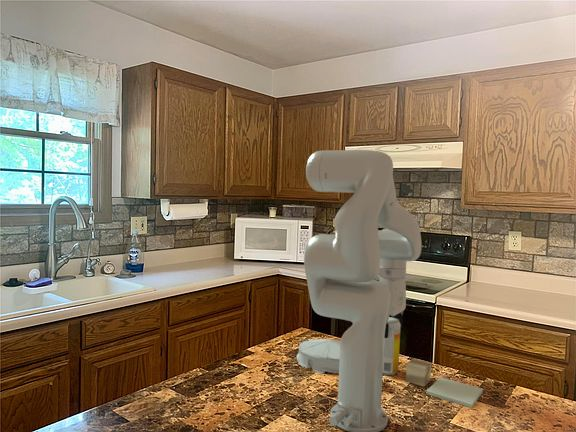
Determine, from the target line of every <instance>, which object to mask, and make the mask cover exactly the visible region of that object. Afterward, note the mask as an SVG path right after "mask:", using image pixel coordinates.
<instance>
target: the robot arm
mask: <svg viewBox="0 0 576 432" xmlns="http://www.w3.org/2000/svg"><path fill="white" fill-rule="evenodd" d="M393 173H394V163H393V159H392V157H391V156H390V155H389V154H387V153H386V152H383V151H379V150H373V149H345V150H342V149H340V150H339V149H338V150H335V149H334V150H331V149H330V150H325V149H324V150H317V151H314V152H313V153H312V154H311V155H310V156H309V158H308V159H307V163H306V166H305V177H306V180H307V183H308V185H309V186H310V188H311V189H312V190H314V191H315V192H319V193H321V192H323V193H348V194H350V193H351V194H352V193H353V195H352V196H351V197H350V198H349V199H348V200H347V201H346V202H345V203H344V204H343V205H342V206H341V208H339V210H338V212H337V213H336V215H335V217H334V222H333V223H334V224H333V225H334V233H335V234H330V233H329V234H328V233H327V234H325V233H323V234H322V233H321V234H316V235H314V236H312V237H311V238H309V240H308V242H307V244H306V246H305V249H304V254H303V255H304V257H303V264H304V266H303V267H304V272H305V277H306V283H307V289H308V293H309V300H310V304H311V307H312V308H311V309H313V311H314V313H316V314H317V315H319V316H322V317H326V318H331V319H332V318H333V319H336V320H337V319H339V320H344V321H348V322H351V323H352V325H351V326H350V327H348V328H347V330H345V331H344V333H343V334H342V336H341V338H340V340H339V341H340V361H339V373H338V386H337V387H338V389H337V403H336V404H334V405H333V406H332V407H331V409H330V411H329V412H330V413H329V414H330V415H329V416H330V417H329V418H328V422H329V425H331V426H332V427H336V426H337V427H338V428H341V429H342V430H343V431H347V432H381V431H383V430H384V429H385V428H386V427H387V425H388V421H389V419H388V415H387V413H386V412H385V411H384V410H383V409H382V393H383V390H382V389H383V375H384V374H383V354H384V338H388V328H389V324H388V323H387V322H388V319H389V317H390V316H391V317H392V318H396V319H398V320H399V322H400V325H401V326H400V330H401V329H403V314H404V311H405V309H406V307H407V289H406V288H407V284H406V279H407V278H406V276H407V262H414V261H416V260H417V259H419V258H420V256H421V254H422V235H421V228H420V225H419V222H418V220H417V219H416V217H415V216H414V215H413V214H412V213H411V212H410V211H409V210H407V208H405V207H403V205H402V204H400V203H399V202H398V198H397V194H396V193H397V192H396V187H395V181H394V175H393ZM379 227H381V228H383V229H380V230H379ZM376 278H379V280H376Z"/></svg>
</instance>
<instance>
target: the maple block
mask: <svg viewBox="0 0 576 432" xmlns="http://www.w3.org/2000/svg"><path fill="white" fill-rule="evenodd" d="M431 373H432V362H429V361H427V360H426V361H425V360H422V359H418V358H415V357H413V358H412V359H411V360H409V361H408V362H407V363H406V370H405V382H408V383H411V384H415V385H416V386H417V385H418V386H421V387H425V386H426V385H428V383H429V382H430V381H431V376H432V375H431Z"/></svg>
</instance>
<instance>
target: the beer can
mask: <svg viewBox="0 0 576 432" xmlns="http://www.w3.org/2000/svg"><path fill="white" fill-rule="evenodd" d="M387 323H388V324H389V328H388V338H384V354H383V374H382V375H386V376H394V375H396V374H397V373H398V372H399V367H400V366H399V363H400V362H399V361H400V347H401V346H400V344H401V329H400V326H401V325H400V322H399V320H398V319H396V318H392V317H390V316H389V319H388V322H387Z"/></svg>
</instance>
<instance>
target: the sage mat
mask: <svg viewBox="0 0 576 432" xmlns="http://www.w3.org/2000/svg"><path fill="white" fill-rule="evenodd" d="M483 392H484V388H482V387H478V386H474V385H470V384H467V383H463V382H460V381H456V380H452V379H448V378H445V377H442V376H440V377H438V379H437V380H436V381H434V382H433V384H432V385H431V386H430V387H429V388H428V389H427V390H426V393H425V394H426V395H428V396H432V397H435V398H439V399H442V400H445V401H448V402H451V403H454V404H456V405H457V404H458V405H460V406H464V407H467V408H471V409H472V408H473V407H474V405H475V404H476V403H477V401H478V400H479V398H480V397H481V395H482V394H483Z"/></svg>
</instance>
